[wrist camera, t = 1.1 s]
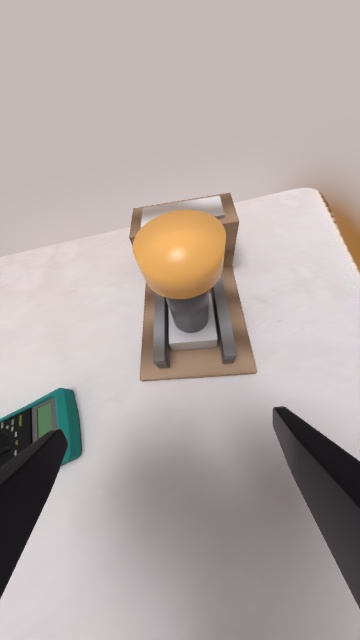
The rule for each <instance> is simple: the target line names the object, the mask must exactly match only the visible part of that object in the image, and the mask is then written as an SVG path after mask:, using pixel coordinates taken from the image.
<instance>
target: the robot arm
mask: <svg viewBox="0 0 360 640" xmlns="http://www.w3.org/2000/svg"><path fill="white" fill-rule="evenodd" d="M273 427H274V430H275V432H276V435H277V438H278V440H279V443H280V445H281V448H282V450H283V453H284V455H285V458H286V460H287V463H288V465H289V468H290V470H291V472H292V475H293V477H294V479H295V481H296V483H297V485H298V487H299V489H300V491H301V493H302V495H303V497H304V499H305V501H306V503H307V505H308V507H309V509H310V511H311V513H312V515H313V517H314V519H315V521H316V523H317V525H318V527H319V529H320V531H321V533H322V535H323V537H324V539H325V541H326V543H327V545H328V547H329V549H330V551H331V553H332V555H333V557H334V559H335V561H336V563H337V565H338V567H339V569H340V571H341V573H342V575H343V577H344V579H345V581H346V583H347V585H348V587H349V589H350V591H351V593H352V594H353V596H354V598H355V600H356V602H357V604H358V606H359V608H360V461H358V460H357V459H356V458H354V457H353V456H352V455H350V454H349V453H348V452H346V451H345V450H343V449H342V448H341V447H339V446H338V445H337V444H335V443H334V442H332V441H331V440H330V439H328V438H327V437H326V436H324V435H323V434H321V433H320V432H319V431H317V430H316V429H315V428H313V427H312V426H310V425H309V424H308V423H306V422H305V421H304V420H302V419H301V418H300V417H298V416H297V415H295V414H294V413H293V412H291V411H290V410H289V409H287V408H286V407H283V406H281V407H274V408H273ZM67 448H68V441H67V439H66V437H65V435H64V433H63V431H62V430H61V429H52V430H50V431H48V432H47V433H46V434H44V435H43V436H42V437H40V438H39V439H38V440H36V441H35V442H34V443H32V444H31V445H30V446H28V447H27V448H26V449H24V450H23V451H22V452H20V453H19V454H18V455H17V456H15V457H14V458H13V459H11V460H10V461H9V462H7V463H6V464H5V465H3V466H2V467H1V468H0V598H1V596H2V594H3V592H4V590H5V588H6V586H7V584H8V581H9V579H10V577H11V575H12V573H13V571H14V569H15V567H16V564H17V562H18V560H19V558H20V556H21V554H22V552H23V550H24V547H25V545H26V543H27V541H28V539H29V537H30V535H31V533H32V530H33V528H34V526H35V524H36V522H37V520H38V518H39V516H40V513H41V511H42V509H43V507H44V505H45V503H46V501H47V498H48V496H49V494H50V492H51V489H52V487H53V484H54V482H55V479H56V477H57V474H58V472H59V469H60V466H61V464H62V461H63V459H64V456H65V453H66V451H67Z"/></svg>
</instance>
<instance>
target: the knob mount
mask: <svg viewBox="0 0 360 640" xmlns="http://www.w3.org/2000/svg"><path fill="white" fill-rule="evenodd" d="M177 210H198V211H202V212H205V213H208V214H210V215H212V216H214V217H216V218H217V219H218V220H219V221H220V222H221V223H222V225H223V226H224V228H225V231H226V243H225V253H224V263H223V271H222V274H221V276H220V278H219V280H218V282H217V283H216V284H215V285H214V286H213V287H212V288H211V289H209V294H210V293H211V299H212V306H213V313H214V319H215V326H216V333H217V347H212V348H200V349H188V350H175V351H173V350H172V349H171V347H170V345H169V306H168V303H167V300H166V297H163V296H161V295H159V294H157V293H155V292H154V291H153V290H152V289H151V288H150V287H149V286H148V284H147V283H146V289H145V305H144V320H143V336H142V351H141V367H140V380H141V381H154V380H169V379H184V378H199V377H214V376H230V375H245V374H255V373H256V372H257V370H256V365H255V361H254V357H253V353H252V349H251V344H250V340H249V336H248V332H247V328H246V323H245V319H244V315H243V311H242V307H241V302H240V298H239V294H238V290H237V286H236V282H235V277H234V273H233V269H232V262H233V256H234V250H235V243H236V237H237V231H238V225H239V220H238V216H237V213H236V210H235V207H234V204H233V201H232V197H231V194H230V193H226V194H220V195H213V196H207V197H201V198H195V199H189V200H183V201H177V202H171V203H164V204H158V205H152V206H146V207H140V208H134V209H133V215H132V222H131V229H130V236H129V238H130V240H131V243H132V245H133V241H134V238H135V236H136V234H137V233H138V231H139V230H140V229H141V228H142V227H143V226H144V225H145V224H146V223H147V222H149V221H150V220H152V219H154V218H155V217H157V216H160V215H162V214H165V213H168V212H172V211H177Z"/></svg>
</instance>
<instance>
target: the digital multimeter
mask: <svg viewBox="0 0 360 640" xmlns="http://www.w3.org/2000/svg"><path fill="white" fill-rule="evenodd" d="M52 429H61V430H62V431H63V433H64V435H65V437H66V439H67V441H68V448H67V451H66V453H65V456H64V459H63V461H62V464H61V465H64V464H66V463H68V462H70V461H72V460H74V459H76V458H78V457H79V456H80V454H81V438H80V425H79V418H78V411H77V407H76V402H75V398H74V394H73V391H72V390H69V389H64V388H58V389H57V390H55V391H53V392H51V393H49V394H47V395H45V396H44V397H42V398H40V399H38V400H36V401H34V402H32V403H31V404H29V405H27V406H25V407H23V408H21V409H19V410H17V411H15V412H13V413H11V414H9V415H7V416H5V417H3V418H1V419H0V468H1V467H2V466H3V465H5V464H6V463H7V462H9V461H10V460H11V459H13V458H14V457H15V456H17V455H18V454H19V453H20V452H22V451H23V450H24V449H26V448H27V447H28V446H30V445H31V444H32V443H34V442H35V441H36V440H38V439H39V438H40V437H42V436H43V435H44V434H46V433H47V432H48V431H50V430H52Z"/></svg>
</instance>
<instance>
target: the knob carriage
mask: <svg viewBox="0 0 360 640" xmlns="http://www.w3.org/2000/svg"><path fill="white" fill-rule="evenodd" d="M225 243H226V231H225V228H224V226H223V225H222V223H221V222H220V221H219V220H218V219H217V218H216V217H214V216H212V215H210V214H208V213H205V212H202V211H198V210H177V211H172V212H168V213H165V214H162V215H160V216H157V217H155V218H154V219H152V220H150V221H149V222H147V223H146V224H145V225H144V226H143V227H142V228H141V229H140V230H139V231H138V233H137V234H136V236H135V238H134V241H133V253H134V256H135V258H136V261H137V263H138V265H139V267H140V269H141V272H142V274H143V276H144V278H145V280H146V283H147V284H148V286H149V287H150V288H151V289H152V290H153V291H154V292H155V293H157V294H159V295H161V296H163V297H166V300H167V303H168V306H169V345H170V347H171V349H172V350H173V351H175V350H188V349H200V348H212V347H217V333H216V326H215V319H214V313H213V306H212V299H211V293H210V294H209V289H211V288H212V287H213V286H214V285H215V284H216V283H217V282H218V280H219V278H220V276H221V274H222V271H223V263H224V253H225Z"/></svg>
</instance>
